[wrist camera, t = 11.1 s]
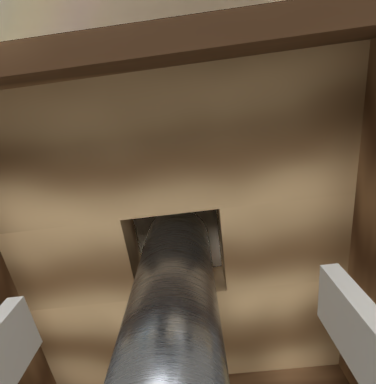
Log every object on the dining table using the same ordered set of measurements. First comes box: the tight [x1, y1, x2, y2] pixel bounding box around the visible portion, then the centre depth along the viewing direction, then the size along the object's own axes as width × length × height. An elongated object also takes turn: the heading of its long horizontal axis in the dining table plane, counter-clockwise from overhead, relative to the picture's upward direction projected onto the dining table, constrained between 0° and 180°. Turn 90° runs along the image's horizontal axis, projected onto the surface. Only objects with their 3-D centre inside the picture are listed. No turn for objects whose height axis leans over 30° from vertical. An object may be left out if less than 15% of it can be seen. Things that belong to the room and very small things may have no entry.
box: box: [0, 0, 376, 384], centre depth 15 cm, size 22×22×6 cm
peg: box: [104, 212, 230, 384], centre depth 11 cm, size 4×4×14 cm
